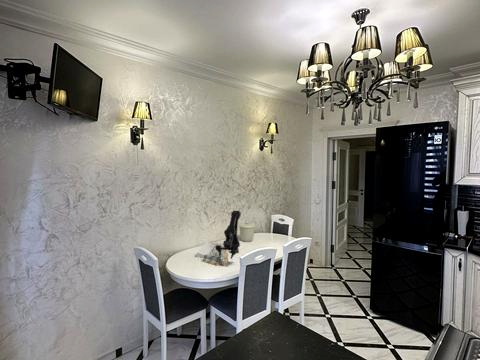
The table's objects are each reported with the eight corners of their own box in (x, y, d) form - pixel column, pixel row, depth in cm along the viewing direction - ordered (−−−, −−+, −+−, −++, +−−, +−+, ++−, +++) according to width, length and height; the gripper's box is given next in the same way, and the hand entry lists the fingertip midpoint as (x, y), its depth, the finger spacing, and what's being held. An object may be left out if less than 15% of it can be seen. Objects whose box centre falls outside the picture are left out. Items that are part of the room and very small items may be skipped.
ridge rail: (202, 261, 223) (202, 255, 223) (207, 259, 228) (207, 253, 228) (217, 265, 214) (217, 259, 214) (221, 263, 219) (221, 257, 219)
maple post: (226, 264, 217) (226, 249, 216) (229, 265, 214) (229, 250, 213) (222, 265, 214) (222, 250, 214) (225, 267, 211) (225, 251, 211)
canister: (255, 238, 295) (255, 219, 294) (254, 243, 277) (255, 223, 276) (239, 237, 297) (239, 219, 296) (237, 242, 279) (238, 222, 278)
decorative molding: (214, 248, 266) (205, 245, 267) (215, 244, 265) (206, 241, 266) (206, 261, 232) (195, 257, 233) (207, 256, 232) (197, 252, 233)
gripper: (216, 235, 219) (212, 252, 208) (238, 237, 215) (235, 254, 205) (218, 242, 227) (215, 259, 217) (240, 243, 223) (237, 261, 213)
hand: (225, 258), depth 213 cm, fingers open, 9 cm apart
